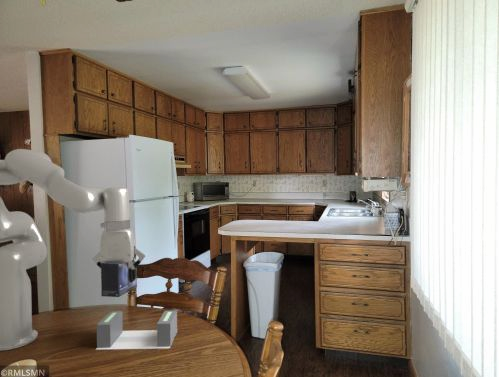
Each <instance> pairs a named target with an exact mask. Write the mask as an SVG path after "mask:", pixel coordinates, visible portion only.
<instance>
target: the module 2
mask: <svg viewBox="0 0 499 377" xmlns="http://www.w3.org/2000/svg"><path fill="white" fill-rule="evenodd" d="M156 330H157V347H170V346H172V344H173V342H174V339H175V337H176V335H177V333H178V331H177V330H178V310H164V311H163V313H162V315H161V317H160V318H159V320H158V321H157V323H156ZM170 348H171V347H170Z"/></svg>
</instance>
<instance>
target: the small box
mask: <svg viewBox="0 0 499 377" xmlns="http://www.w3.org/2000/svg"><path fill="white" fill-rule="evenodd" d="M134 260H135V262H136V261H137V257H136V258H135V259H134ZM130 269H131V268H130V266H129V264H128V263H124V262H123V261H108V262H102V263H101V268H100V280H101V281H100V282H101V294H100V296H101V297H105V298H106V297H108V298H109V297H110V298H121V296H124V295H126V293H129V292H130V291H132V290H133V289H135V288H137V287H138V282H137V281H138V280H137V279H138V278H137V272H136V279H135V280H134V281H133V282H130V276H129V270H130Z"/></svg>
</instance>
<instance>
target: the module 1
mask: <svg viewBox="0 0 499 377" xmlns="http://www.w3.org/2000/svg"><path fill="white" fill-rule="evenodd" d="M123 319H124V318H123V310H121V311H119V310H117V311H114V310H113V311H109V312H108V313H107V314H106V315H105V316H104V317H103V318H102V319H101V320H99V322H97V324H96V348H111V346H112V345H113V344H114V342H115V341H116V340H117V339H118V337H119V336H120V335H121V334H122V332H123V331H124V328H123V326H124V324H123V323H124V322H123Z"/></svg>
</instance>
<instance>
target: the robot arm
mask: <svg viewBox="0 0 499 377" xmlns="http://www.w3.org/2000/svg"><path fill="white" fill-rule="evenodd" d="M52 161H53V160H52V159H51V157H50V156H49V155H48V154H46V153H45V152H42V151H40V150H38V151H37V150H31V149H26V148H17V149H13V150H12V151H9V152H8V153H7V154H6V155H5V158H4V159H0V186H8V185H9V186H10V185H15V184H19V183H23V182H27V181H28V182H30V183H32V184H33V185H35V186H37V187H39V188H41V189H43V190H44V191H45V192H46V194H47V195H48V197H49V198H51V199H52V200H53V201H54V202H56V203H57V204H59V205H61V206H63V207H65V208H67V209H69V210H70V211H73V212H76V213H81V214H83V213H84V214H85V213H90V212H91V213H92V212H97V211H103V213H104V214H103V215H104V216H103V217H104V221H103V223H102V222H101V223H100V228H103V229H104V231H102V232H101V236H100V237H101V238H100V247H99V252H98V253H97V254H95V256H93V257H92V261H93V262H94V263H95V264H96V266H97V267H98V268H99V269H101V263H102V262H108V261H123V262H124V263H128V264H129V266H130V268H131V269H130V270H129V276H130V282H133V281H134V280H135V279H136V273H137V267H138V266H139V265H141V264H142V262H143V260H144V259H145V257H146V255H145V254H144V253H143V252H141V251H140V250H138V249H137V245H136V239H135V234H134V230H133V229H131V210H130V207H131V206H130V192H129V189H128V188H127V187H121V186H120V187H107V188H106V187H105V188H103V187H84V186H83V187H82V186H80V185H78V184H76V183H75V182H72V181H70V180H69V179H67V178H66V177H65V172H66V171H65V170H64V168H62V167H61V166H59V165H57V164H55V163H53V162H52ZM9 241H10V242H11V241H12V243H9V244H6V245H3V246H0V352H1V351H9V350H13V349H15V350H16V349H18V348H21V347H23V346H27V345H29V344H31V343H32V342H33V341H35V340H36V339H37V338H38V336H39V335H38V334H39V333H38V331H37V330H35V329H33V325H32V324H33V317H32V316H33V315H32V313H33V311H32V309H33V308H32V283H31V279H30V277H29V275H28V272H27V270H29V269H31V268H34V267H36V266H39V265H41V264H42V263H43V262H44V261H45V259H47V255H48V250H47V245H46V243H45V241H44V239H43V237H42V234H41V232H40V230H39V228H38V227H37V224H36V222H35V221H34V219H33V218H32V216H31V215H29V214H28V213H26V212H23V211H17V210H16V211H9V210H8V208H7V207H6V205H5V202H4V200H3V198H2V197H1V196H0V243H5V242H9ZM135 258H136V262H135V260H134V259H135ZM137 258H138V259H137Z"/></svg>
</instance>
